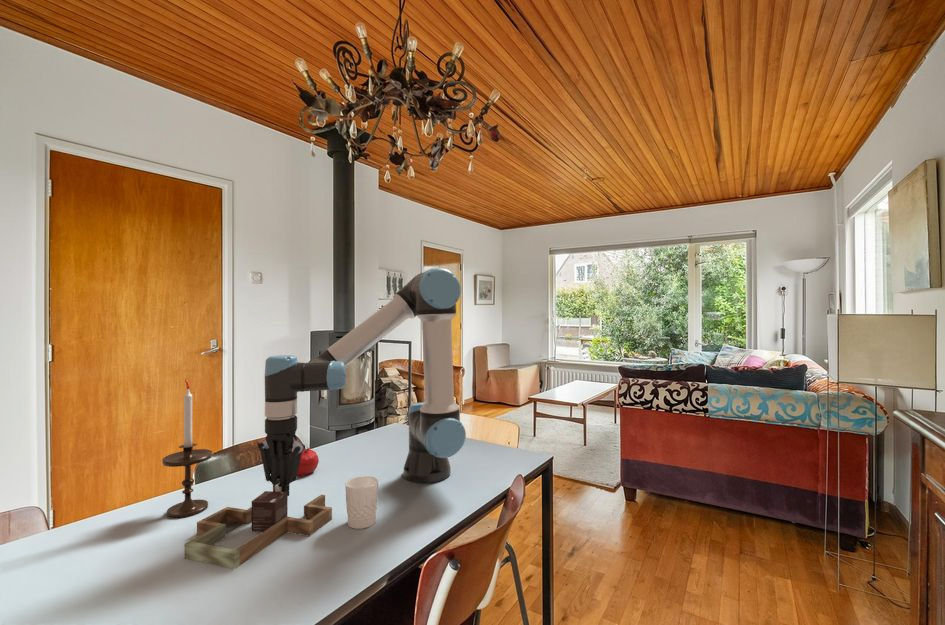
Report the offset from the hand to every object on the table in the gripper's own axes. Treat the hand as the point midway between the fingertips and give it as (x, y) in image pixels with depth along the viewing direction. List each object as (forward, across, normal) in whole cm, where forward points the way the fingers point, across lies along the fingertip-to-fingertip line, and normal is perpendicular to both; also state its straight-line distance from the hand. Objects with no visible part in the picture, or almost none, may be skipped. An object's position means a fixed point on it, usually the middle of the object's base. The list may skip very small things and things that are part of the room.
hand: (281, 509), depth 106 cm
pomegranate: (+2, +16, -27) cm, 32 cm away
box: (+2, -1, +5) cm, 5 cm away
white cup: (+2, -21, -4) cm, 22 cm away
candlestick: (+2, +27, +4) cm, 27 cm away
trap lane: (+2, 0, +6) cm, 6 cm away
